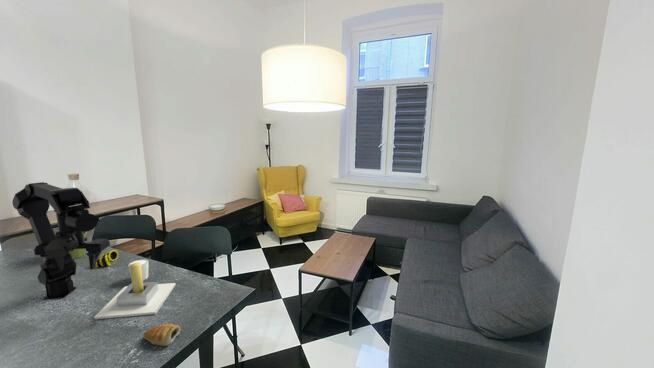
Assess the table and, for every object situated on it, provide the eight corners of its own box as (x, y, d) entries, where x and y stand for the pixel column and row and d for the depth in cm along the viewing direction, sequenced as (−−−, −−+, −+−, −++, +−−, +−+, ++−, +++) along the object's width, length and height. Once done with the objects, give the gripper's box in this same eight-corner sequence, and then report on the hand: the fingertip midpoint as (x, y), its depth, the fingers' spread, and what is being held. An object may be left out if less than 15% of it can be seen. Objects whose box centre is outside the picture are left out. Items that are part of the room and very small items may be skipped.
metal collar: (117, 307, 91) (116, 297, 90) (131, 292, 100) (130, 283, 99) (146, 304, 93) (146, 295, 92) (158, 290, 101) (157, 281, 101)
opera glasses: (107, 260, 127) (103, 251, 126) (119, 257, 128) (116, 248, 127) (96, 270, 118) (92, 260, 117) (109, 267, 119) (105, 257, 118)
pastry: (137, 345, 76) (136, 333, 76) (154, 328, 83) (153, 317, 82) (168, 347, 76) (168, 336, 75) (183, 331, 82) (182, 320, 82)
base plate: (94, 319, 86) (94, 317, 86) (125, 288, 103) (125, 286, 103) (155, 314, 89) (155, 311, 89) (175, 284, 107) (175, 283, 106)
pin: (133, 301, 94) (129, 267, 92) (133, 297, 96) (130, 263, 94) (144, 298, 96) (141, 265, 94) (144, 294, 98) (140, 261, 96)
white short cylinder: (139, 284, 107) (138, 267, 105) (125, 281, 108) (123, 265, 107) (153, 275, 113) (152, 260, 112) (140, 273, 114) (138, 258, 113)
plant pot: (76, 250, 134) (72, 229, 132) (96, 252, 132) (93, 231, 130) (48, 261, 122) (44, 238, 120) (71, 263, 121) (67, 240, 119)
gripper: (13, 236, 78) (22, 284, 81) (86, 234, 82) (92, 280, 85) (45, 224, 89) (52, 267, 92) (108, 222, 93) (113, 264, 95)
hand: (77, 270), depth 91 cm, fingers open, 9 cm apart
